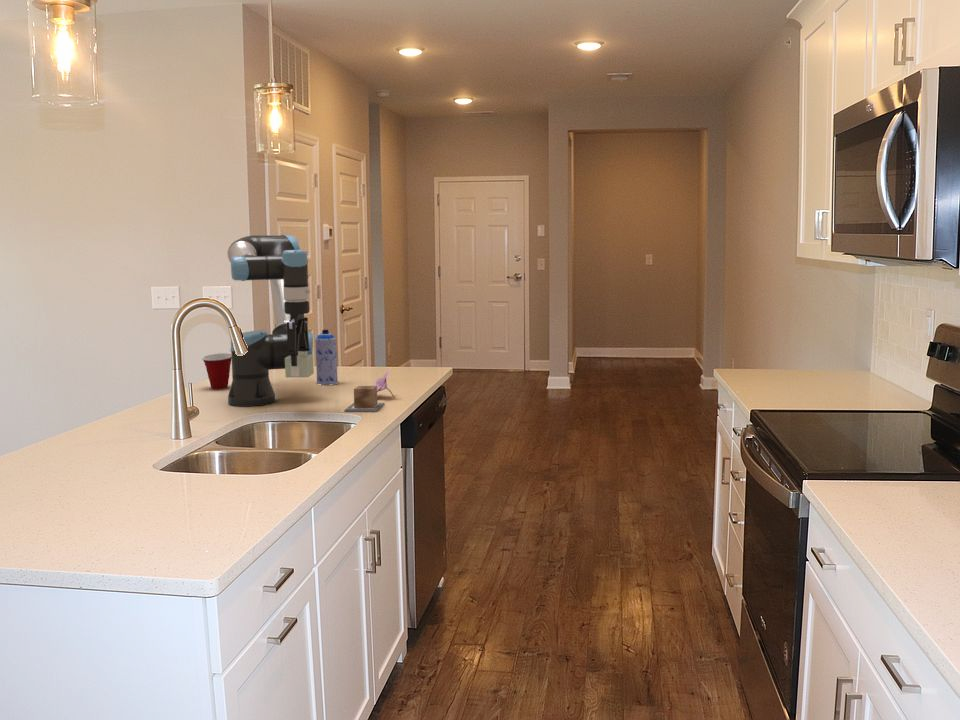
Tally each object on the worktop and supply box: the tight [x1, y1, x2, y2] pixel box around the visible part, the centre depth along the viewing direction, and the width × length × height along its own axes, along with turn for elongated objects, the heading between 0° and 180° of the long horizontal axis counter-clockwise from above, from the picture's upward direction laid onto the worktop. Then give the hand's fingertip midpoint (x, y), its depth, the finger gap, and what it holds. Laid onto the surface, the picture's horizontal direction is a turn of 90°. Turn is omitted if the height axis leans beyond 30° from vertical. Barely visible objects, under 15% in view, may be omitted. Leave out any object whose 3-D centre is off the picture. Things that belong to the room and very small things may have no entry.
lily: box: [374, 369, 395, 398], centre depth 298 cm, size 12×12×10 cm
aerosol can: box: [314, 328, 339, 386], centre depth 327 cm, size 8×8×20 cm
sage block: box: [284, 354, 315, 378], centre depth 276 cm, size 7×7×6 cm
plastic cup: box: [201, 352, 232, 390], centre depth 320 cm, size 11×11×12 cm
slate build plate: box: [344, 402, 385, 413], centre depth 281 cm, size 10×12×1 cm
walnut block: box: [353, 385, 378, 408], centre depth 280 cm, size 6×6×6 cm
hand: (299, 373), depth 276 cm, fingers closed on sage block, 7 cm apart
